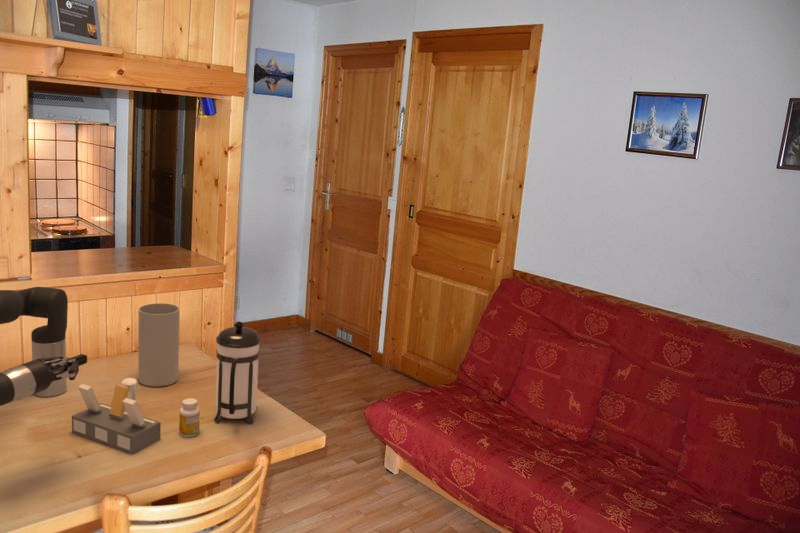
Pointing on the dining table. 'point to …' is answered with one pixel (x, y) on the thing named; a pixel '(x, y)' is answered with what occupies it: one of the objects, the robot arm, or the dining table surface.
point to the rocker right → (134, 412)
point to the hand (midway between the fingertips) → (85, 358)
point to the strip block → (115, 429)
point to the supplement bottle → (189, 418)
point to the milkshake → (131, 387)
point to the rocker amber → (118, 402)
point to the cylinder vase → (158, 344)
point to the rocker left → (89, 398)
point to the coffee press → (237, 373)
